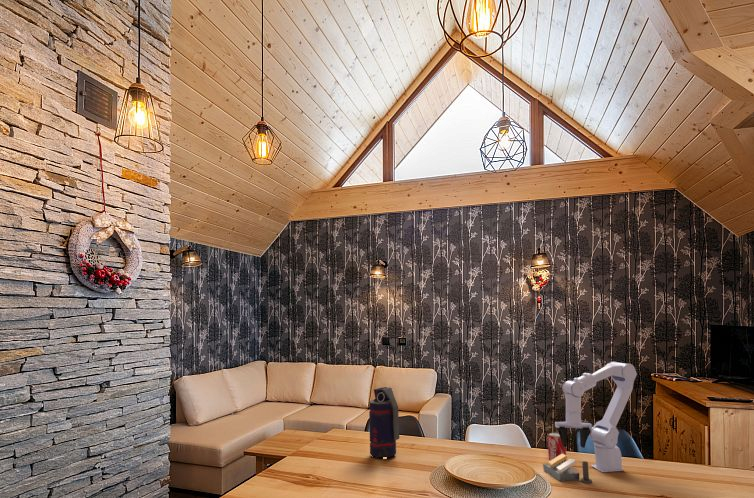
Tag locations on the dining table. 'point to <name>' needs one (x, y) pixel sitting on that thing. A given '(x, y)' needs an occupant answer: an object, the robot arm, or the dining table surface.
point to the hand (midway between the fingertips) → (573, 446)
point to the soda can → (555, 446)
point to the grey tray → (561, 473)
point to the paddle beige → (566, 465)
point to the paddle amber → (557, 460)
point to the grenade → (383, 423)
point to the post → (585, 473)
